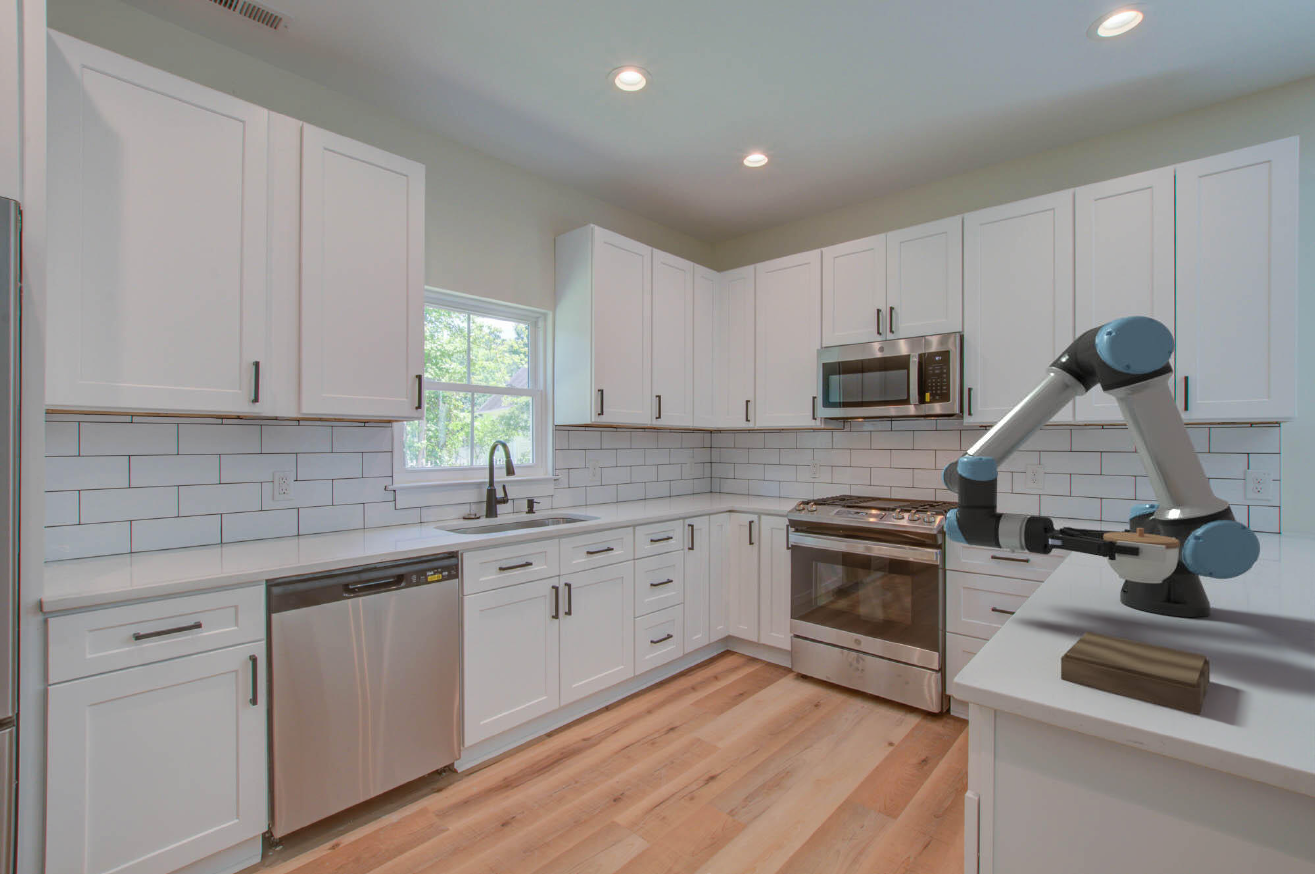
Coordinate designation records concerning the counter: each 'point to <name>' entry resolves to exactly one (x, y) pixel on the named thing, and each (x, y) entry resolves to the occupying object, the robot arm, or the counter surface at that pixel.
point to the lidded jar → (1144, 568)
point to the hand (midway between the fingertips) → (1170, 549)
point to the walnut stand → (1138, 671)
